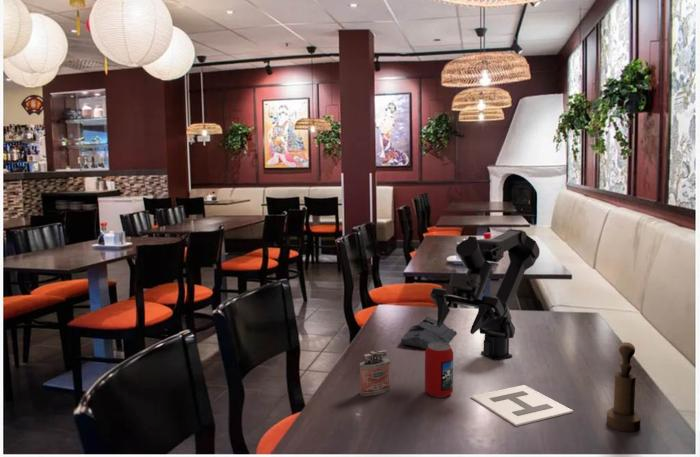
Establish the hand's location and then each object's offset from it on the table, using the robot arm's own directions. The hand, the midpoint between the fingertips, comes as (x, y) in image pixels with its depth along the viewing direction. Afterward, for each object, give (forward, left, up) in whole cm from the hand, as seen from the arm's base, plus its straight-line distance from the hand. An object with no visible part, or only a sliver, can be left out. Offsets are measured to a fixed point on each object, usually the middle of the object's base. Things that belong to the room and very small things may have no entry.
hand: (454, 329), depth 143 cm
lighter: (+21, -4, -14) cm, 25 cm away
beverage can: (+7, +4, -14) cm, 16 cm away
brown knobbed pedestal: (-19, +34, -14) cm, 42 cm away
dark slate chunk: (-13, -33, -14) cm, 38 cm away
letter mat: (-6, +17, -14) cm, 23 cm away
